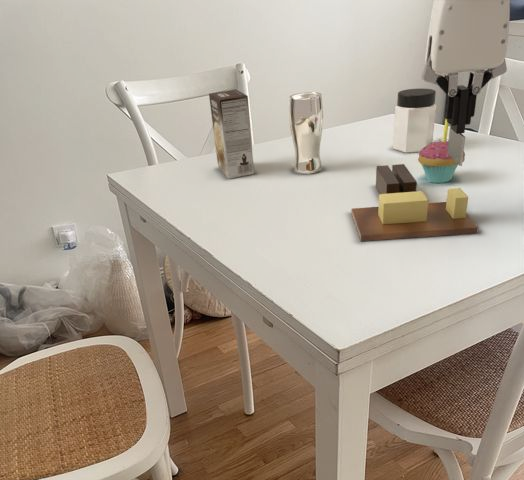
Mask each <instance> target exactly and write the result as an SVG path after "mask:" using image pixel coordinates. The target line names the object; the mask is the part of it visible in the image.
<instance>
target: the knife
mask: <svg viewBox="0 0 524 480" xmlns="http://www.w3.org/2000/svg"><path fill="white" fill-rule="evenodd" d="M469 90H470V89H468V88H467V86H465V85H464V84H460V85H457V91H458V96H459V97H460V102H459V112H458V121H457V125H456V126H451V125H449V132H448V141H449V142H448V141H447V142H448V151H447V153H448V154H449V155H450V156H451V157H452V158H453V159H454V160H455V162H456V163H457V164H458V166H459V167H462V166H463V162H462V161H463V152H465V142H466V135H464V134H465V132H466V116H467V107H468V98H469Z"/></svg>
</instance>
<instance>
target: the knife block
mask: <svg viewBox="0 0 524 480" xmlns="http://www.w3.org/2000/svg"><path fill="white" fill-rule="evenodd" d="M375 169H376V170H375V188H376V191H377V192H378V195H379V194H389V193H403V192H416V191H417V185H418V184H417V183H418V182H417V180H416V178H415V177H414V176H413V175H412V173H411V172H410V170H409V169H408V167H407V166H406V165H405V163H399V164H392V165H391V168H390V166H389V165H388V164H386V165H377V166H376V168H375Z"/></svg>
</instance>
